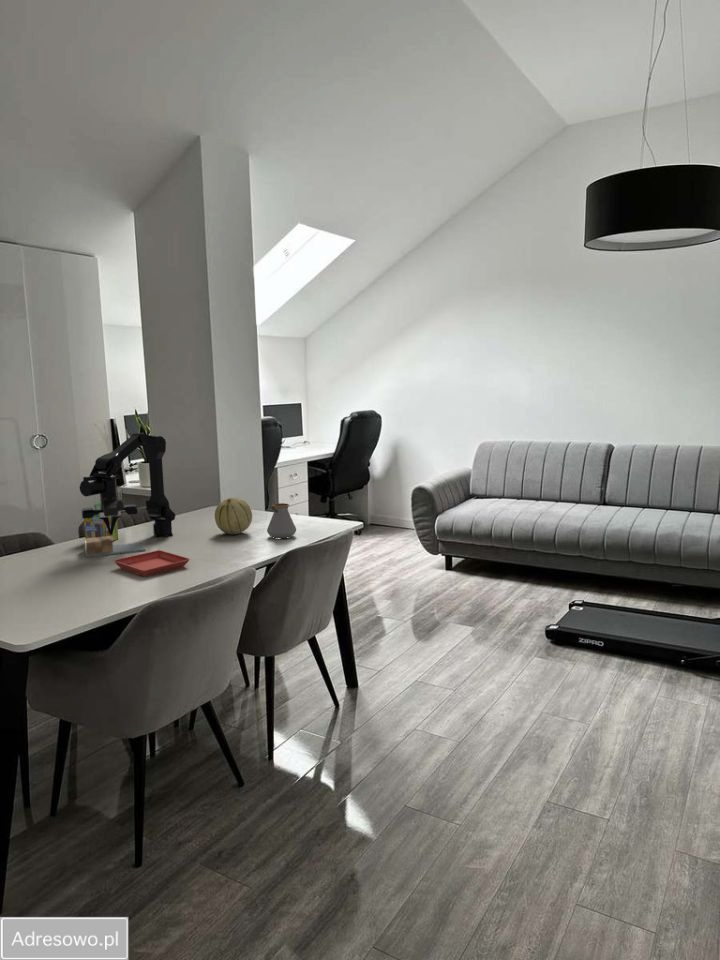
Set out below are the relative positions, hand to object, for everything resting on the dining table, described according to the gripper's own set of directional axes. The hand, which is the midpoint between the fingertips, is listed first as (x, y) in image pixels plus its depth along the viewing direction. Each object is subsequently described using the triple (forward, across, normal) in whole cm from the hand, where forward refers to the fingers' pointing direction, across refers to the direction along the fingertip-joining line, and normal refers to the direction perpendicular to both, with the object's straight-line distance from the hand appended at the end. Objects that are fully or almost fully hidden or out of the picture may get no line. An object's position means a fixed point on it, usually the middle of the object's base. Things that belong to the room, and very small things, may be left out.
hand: (110, 534), depth 257 cm
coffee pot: (+6, +60, -11) cm, 61 cm away
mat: (+6, +1, 0) cm, 6 cm away
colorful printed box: (+6, -2, +17) cm, 18 cm away
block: (+3, 0, 0) cm, 3 cm away
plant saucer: (+7, +10, -30) cm, 32 cm away
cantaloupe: (+6, +47, +7) cm, 48 cm away
